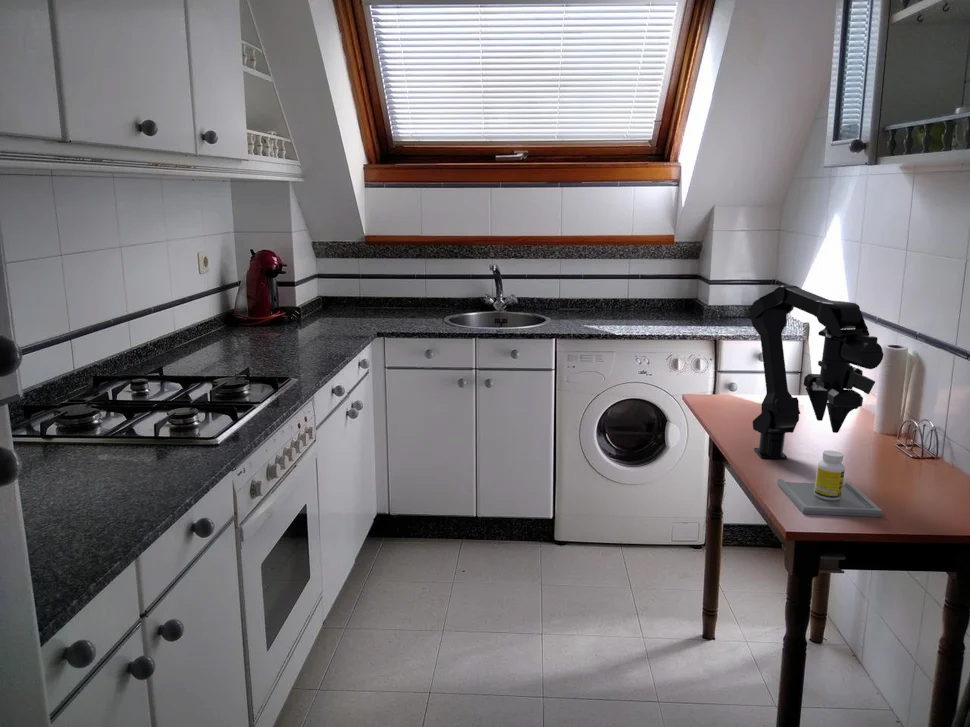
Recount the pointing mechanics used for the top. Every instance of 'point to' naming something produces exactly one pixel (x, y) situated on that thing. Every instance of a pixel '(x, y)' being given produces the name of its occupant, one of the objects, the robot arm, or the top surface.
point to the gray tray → (847, 505)
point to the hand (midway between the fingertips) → (827, 426)
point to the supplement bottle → (829, 476)
